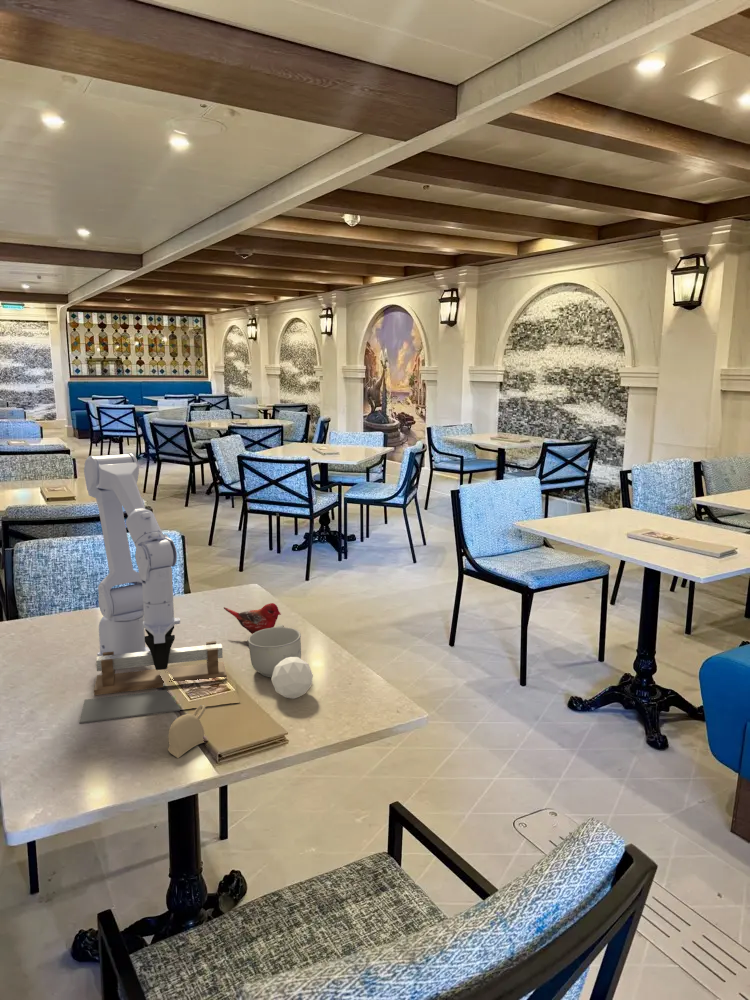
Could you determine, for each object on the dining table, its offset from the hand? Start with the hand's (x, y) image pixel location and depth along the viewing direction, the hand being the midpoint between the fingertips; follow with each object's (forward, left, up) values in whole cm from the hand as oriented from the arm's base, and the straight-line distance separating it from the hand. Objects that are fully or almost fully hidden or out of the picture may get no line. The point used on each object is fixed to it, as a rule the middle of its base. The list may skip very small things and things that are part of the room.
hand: (161, 664), depth 139 cm
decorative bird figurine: (+2, +26, -3) cm, 27 cm away
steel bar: (0, 0, 0) cm, 0 cm away
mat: (+7, -7, -3) cm, 11 cm away
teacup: (+17, +16, -4) cm, 24 cm away
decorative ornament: (+22, -16, -4) cm, 28 cm away
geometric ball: (+27, +7, -3) cm, 28 cm away
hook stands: (0, 0, -3) cm, 3 cm away
